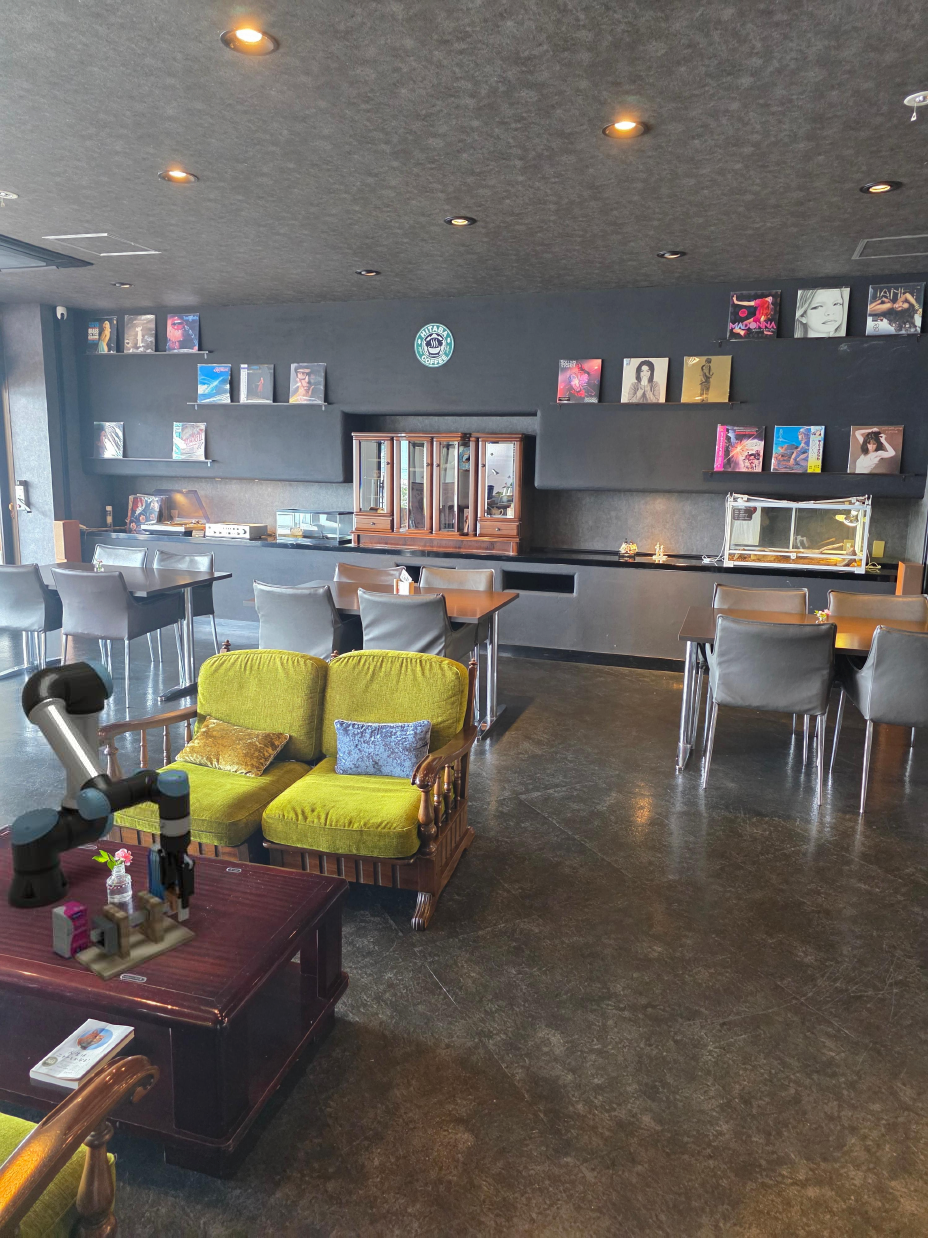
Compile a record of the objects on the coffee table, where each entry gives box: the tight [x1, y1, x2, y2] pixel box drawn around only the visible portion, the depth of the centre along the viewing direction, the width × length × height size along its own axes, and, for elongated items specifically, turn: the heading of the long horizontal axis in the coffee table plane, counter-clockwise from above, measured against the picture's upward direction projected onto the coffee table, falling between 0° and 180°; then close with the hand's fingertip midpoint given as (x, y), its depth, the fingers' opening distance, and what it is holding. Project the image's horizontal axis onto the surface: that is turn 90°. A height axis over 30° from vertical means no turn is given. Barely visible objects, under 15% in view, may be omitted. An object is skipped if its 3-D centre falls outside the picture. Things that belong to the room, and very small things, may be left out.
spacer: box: [91, 914, 118, 956], centre depth 196 cm, size 7×2×7 cm, turn 52°
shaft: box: [89, 886, 179, 942], centre depth 202 cm, size 4×23×4 cm, turn 142°
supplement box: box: [51, 900, 89, 960], centre depth 200 cm, size 6×6×12 cm
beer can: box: [147, 841, 179, 901], centre depth 226 cm, size 8×8×16 cm
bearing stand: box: [74, 890, 196, 982], centre depth 202 cm, size 14×24×12 cm, turn 142°
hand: (178, 916), depth 212 cm, fingers closed on shaft, 4 cm apart
